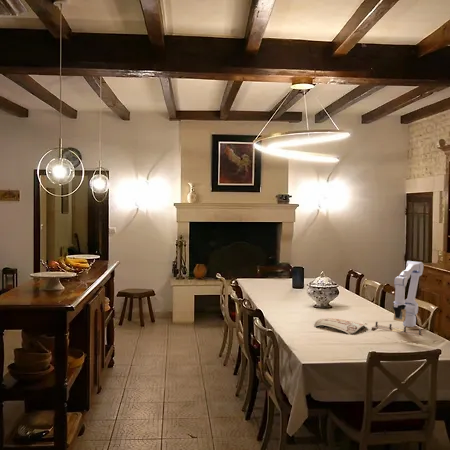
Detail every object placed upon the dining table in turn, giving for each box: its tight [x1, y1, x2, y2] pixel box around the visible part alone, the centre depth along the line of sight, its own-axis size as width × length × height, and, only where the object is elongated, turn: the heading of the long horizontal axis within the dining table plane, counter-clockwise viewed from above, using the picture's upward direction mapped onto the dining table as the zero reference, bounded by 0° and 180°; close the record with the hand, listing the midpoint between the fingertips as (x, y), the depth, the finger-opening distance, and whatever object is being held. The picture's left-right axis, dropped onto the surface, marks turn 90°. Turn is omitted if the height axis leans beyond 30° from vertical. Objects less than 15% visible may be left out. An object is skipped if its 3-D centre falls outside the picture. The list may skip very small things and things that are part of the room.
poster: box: [313, 317, 368, 336], centre depth 334 cm, size 28×6×30 cm
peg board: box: [371, 321, 425, 337], centre depth 323 cm, size 10×30×4 cm, turn 52°
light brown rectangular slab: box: [393, 309, 406, 323], centre depth 322 cm, size 4×6×7 cm
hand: (398, 316), depth 322 cm, fingers closed on light brown rectangular slab, 4 cm apart
